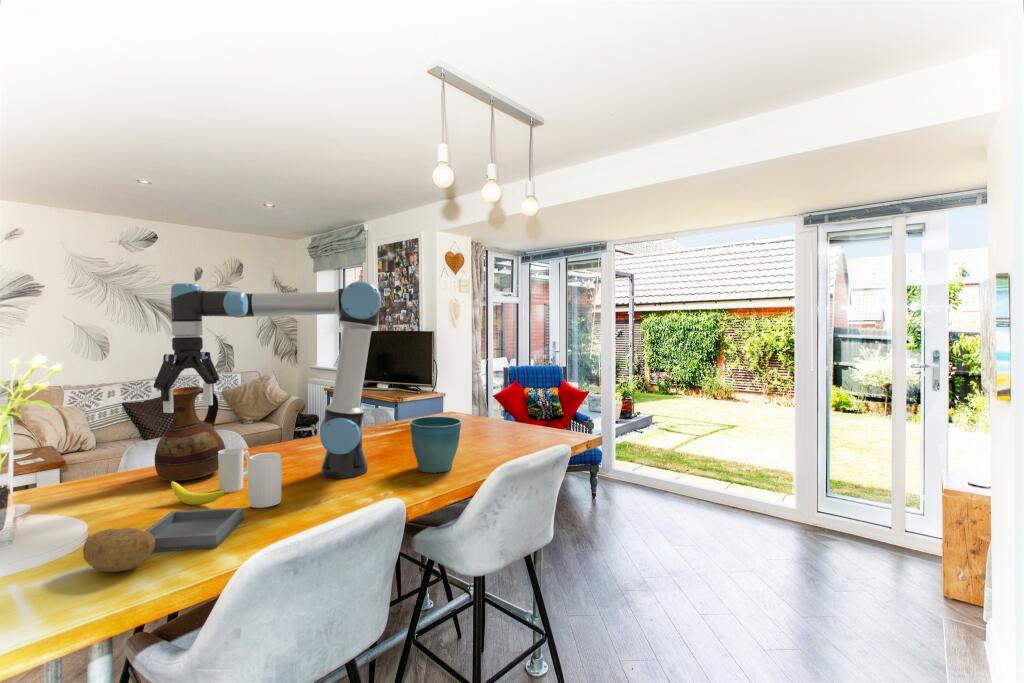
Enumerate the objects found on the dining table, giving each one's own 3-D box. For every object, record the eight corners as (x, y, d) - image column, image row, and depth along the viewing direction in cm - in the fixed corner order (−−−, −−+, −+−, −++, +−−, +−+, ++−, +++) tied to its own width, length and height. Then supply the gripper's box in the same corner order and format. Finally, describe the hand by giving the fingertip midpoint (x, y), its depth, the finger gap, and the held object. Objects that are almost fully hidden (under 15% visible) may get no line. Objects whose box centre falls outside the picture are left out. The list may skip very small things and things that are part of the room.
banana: (220, 510, 134) (220, 487, 134) (165, 503, 139) (165, 481, 139) (229, 506, 137) (229, 484, 137) (175, 500, 142) (174, 478, 142)
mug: (228, 494, 147) (227, 454, 146) (213, 491, 150) (212, 452, 149) (258, 485, 156) (257, 447, 155) (243, 482, 159) (243, 444, 158)
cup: (259, 514, 131) (258, 461, 131) (241, 508, 136) (241, 457, 135) (288, 505, 139) (288, 455, 138) (270, 499, 143) (270, 450, 143)
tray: (244, 519, 128) (244, 507, 128) (216, 548, 112) (216, 534, 112) (172, 522, 126) (172, 511, 126) (132, 553, 109) (132, 539, 109)
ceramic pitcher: (140, 481, 159) (139, 388, 158) (200, 465, 177) (200, 381, 177) (181, 489, 151) (180, 391, 150) (240, 471, 170) (239, 384, 169)
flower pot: (471, 466, 178) (471, 419, 178) (438, 479, 163) (438, 428, 162) (433, 459, 188) (433, 414, 187) (398, 470, 173) (398, 422, 172)
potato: (113, 555, 108) (112, 519, 108) (168, 561, 105) (168, 524, 105) (65, 577, 98) (64, 537, 98) (125, 584, 96) (124, 544, 95)
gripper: (211, 335, 158) (212, 401, 159) (136, 337, 134) (138, 415, 134) (231, 335, 156) (232, 402, 157) (158, 337, 132) (160, 416, 133)
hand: (189, 408), depth 146 cm, fingers open, 13 cm apart
